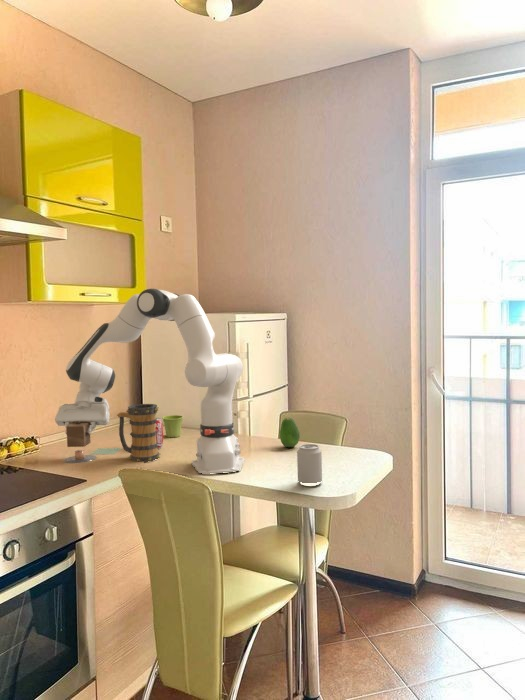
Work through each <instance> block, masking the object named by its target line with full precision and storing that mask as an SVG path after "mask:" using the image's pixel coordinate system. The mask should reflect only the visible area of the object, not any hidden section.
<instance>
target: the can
mask: <svg viewBox="0 0 525 700" xmlns="http://www.w3.org/2000/svg"><path fill="white" fill-rule="evenodd" d="M322 455H323V454H322V450H321V449H320V445H318V444H314V443H304V444H300V445H299V446H298V449H297V451H296V457H297V458H296V462H297V463H296V464H297V465H296V466H297V482H298V481H299V482H302V483H317V482H321V481H322V482H323V465H322V464H323V463H322V461H323V459H322ZM299 482H298V483H299Z"/></svg>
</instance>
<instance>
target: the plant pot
mask: <svg viewBox="0 0 525 700" xmlns="http://www.w3.org/2000/svg"><path fill="white" fill-rule="evenodd" d="M183 419H184V415H178V414H173V415H172V414H171V415H165V416H162V421H163V423H164V430H165V436H166V438H170V437H171V438H178V437H181V434H182V423H183Z"/></svg>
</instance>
